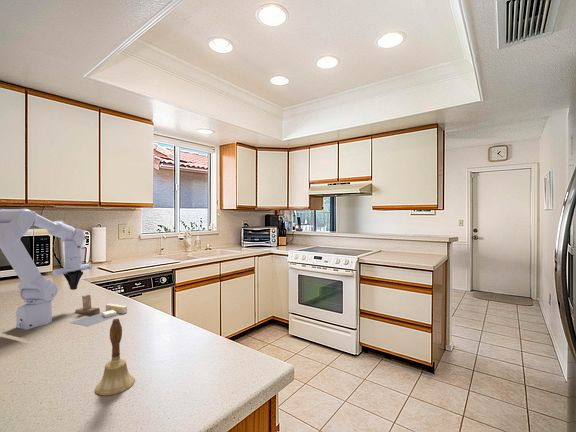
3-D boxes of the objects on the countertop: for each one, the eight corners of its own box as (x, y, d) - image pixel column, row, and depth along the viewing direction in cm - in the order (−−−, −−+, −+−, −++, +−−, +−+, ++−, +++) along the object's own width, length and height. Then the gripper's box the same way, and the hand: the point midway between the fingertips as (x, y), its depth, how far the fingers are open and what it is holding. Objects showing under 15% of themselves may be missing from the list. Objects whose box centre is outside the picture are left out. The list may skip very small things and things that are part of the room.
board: (87, 329, 105) (87, 319, 105) (69, 325, 108) (69, 316, 108) (126, 314, 120) (126, 306, 120) (109, 311, 123) (109, 303, 123)
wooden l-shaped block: (92, 315, 116) (91, 296, 116) (75, 314, 120) (74, 296, 120) (99, 312, 119) (98, 294, 119) (83, 312, 122) (81, 294, 123)
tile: (105, 317, 113) (105, 314, 113) (102, 315, 116) (102, 312, 116) (116, 315, 116) (116, 312, 116) (113, 312, 119) (113, 309, 119)
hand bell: (141, 375, 75) (140, 313, 75) (124, 395, 67) (123, 325, 66) (107, 376, 75) (107, 313, 75) (86, 396, 66) (86, 326, 66)
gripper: (84, 254, 131) (84, 284, 131) (47, 258, 118) (47, 292, 118) (95, 254, 129) (95, 285, 129) (58, 259, 115) (59, 294, 115)
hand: (73, 289), depth 123 cm, fingers closed
